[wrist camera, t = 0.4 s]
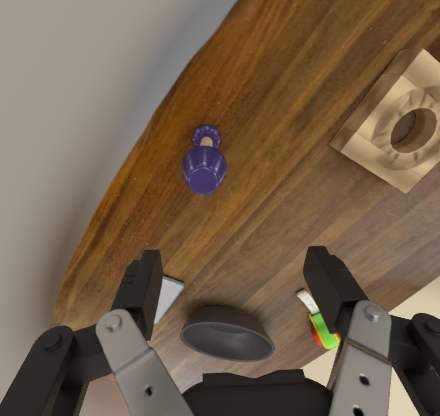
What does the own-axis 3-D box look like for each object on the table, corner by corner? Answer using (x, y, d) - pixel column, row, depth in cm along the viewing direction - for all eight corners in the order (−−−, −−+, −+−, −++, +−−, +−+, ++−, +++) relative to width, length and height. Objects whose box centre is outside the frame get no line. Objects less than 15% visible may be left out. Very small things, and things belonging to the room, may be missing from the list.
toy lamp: (183, 138, 37) (167, 186, 22) (202, 112, 35) (199, 147, 20) (208, 158, 38) (209, 214, 24) (228, 134, 37) (241, 180, 22)
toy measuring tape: (318, 336, 64) (329, 363, 58) (286, 294, 55) (295, 321, 49) (342, 327, 62) (355, 353, 56) (313, 282, 53) (325, 308, 48)
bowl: (253, 342, 64) (257, 368, 58) (173, 320, 58) (170, 346, 52) (280, 315, 58) (287, 340, 53) (195, 287, 52) (194, 312, 47)
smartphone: (121, 315, 55) (147, 272, 48) (122, 311, 55) (148, 268, 49) (156, 325, 57) (185, 286, 50) (157, 321, 58) (186, 282, 51)
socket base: (400, 49, 32) (423, 48, 29) (464, 105, 36) (491, 110, 33) (327, 143, 38) (339, 152, 35) (389, 183, 42) (405, 193, 38)
